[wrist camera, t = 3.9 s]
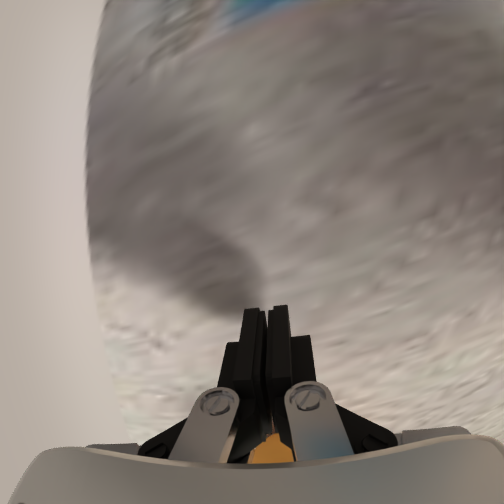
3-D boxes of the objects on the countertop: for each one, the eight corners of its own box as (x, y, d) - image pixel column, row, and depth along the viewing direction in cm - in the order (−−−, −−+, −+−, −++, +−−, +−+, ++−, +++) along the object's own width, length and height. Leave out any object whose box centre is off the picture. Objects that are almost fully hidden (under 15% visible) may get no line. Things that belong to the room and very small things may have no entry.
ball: (344, 403, 16) (358, 491, 10) (340, 452, 18) (347, 522, 12) (243, 411, 17) (230, 498, 11) (257, 458, 19) (250, 528, 13)
